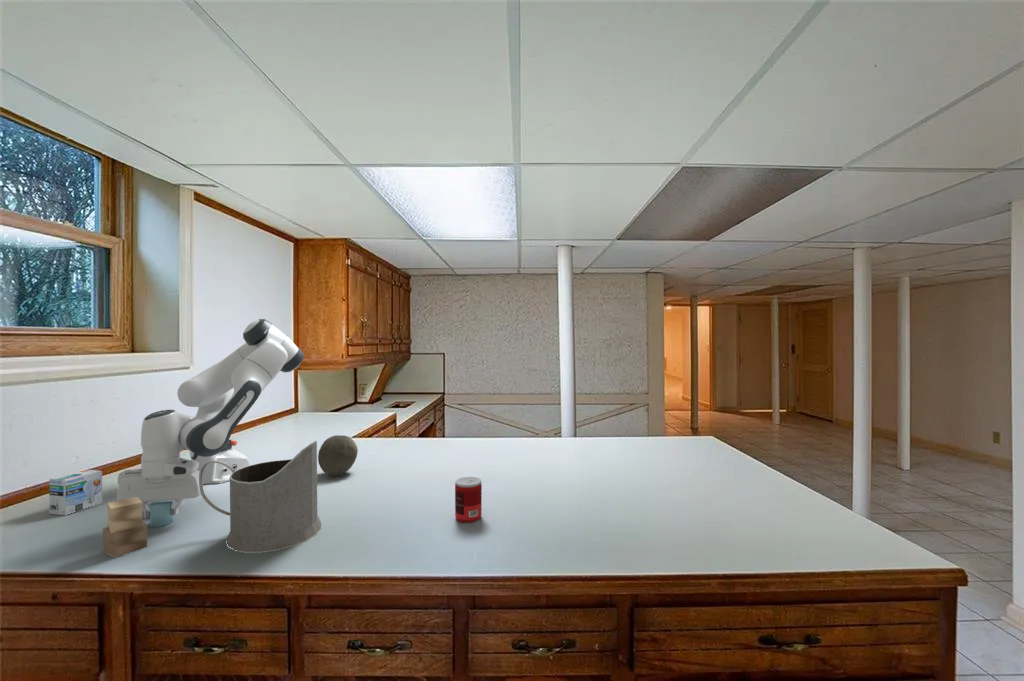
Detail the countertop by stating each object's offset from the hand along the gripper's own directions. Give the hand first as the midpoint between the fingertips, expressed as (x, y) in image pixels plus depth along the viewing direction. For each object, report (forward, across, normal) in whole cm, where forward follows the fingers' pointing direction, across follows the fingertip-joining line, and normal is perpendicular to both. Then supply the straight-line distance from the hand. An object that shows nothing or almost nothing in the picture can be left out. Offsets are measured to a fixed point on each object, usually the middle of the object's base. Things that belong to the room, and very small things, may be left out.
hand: (161, 515), depth 132 cm
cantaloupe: (+3, +44, +36) cm, 57 cm away
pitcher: (+3, +29, -15) cm, 33 cm away
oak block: (-4, -1, -16) cm, 17 cm away
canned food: (+2, +86, -20) cm, 88 cm away
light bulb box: (+3, -31, +20) cm, 37 cm away
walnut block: (+2, -1, -16) cm, 16 cm away
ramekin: (+3, -4, +12) cm, 13 cm away
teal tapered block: (+2, 0, 0) cm, 2 cm away
